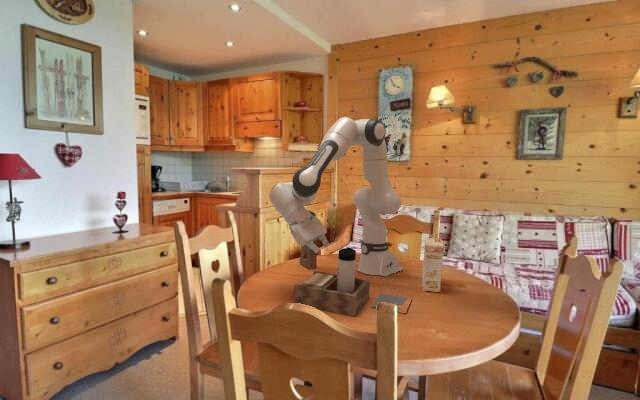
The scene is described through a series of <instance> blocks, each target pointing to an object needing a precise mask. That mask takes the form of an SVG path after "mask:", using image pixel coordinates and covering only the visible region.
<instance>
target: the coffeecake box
mask: <svg viewBox="0 0 640 400" xmlns="http://www.w3.org/2000/svg"><path fill="white" fill-rule="evenodd" d="M424 241H425V242H424V250H423V251H424V253H423V264H422V265H423V266H422V278H421V279H422V282H421V283H422V286H423V289H424V290H434V291H440V292H441V283H442V282H441V281H442V271H443V259H444V248H445V247H444V243H443V240H442V238H436V237H425V239H424ZM423 289H422V290H423Z"/></svg>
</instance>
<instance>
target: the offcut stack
mask: <svg viewBox="0 0 640 400" xmlns="http://www.w3.org/2000/svg"><path fill="white" fill-rule="evenodd" d="M332 280H333V275H327V274H321V273H316V274H314V275H313V274H312V275H311V276H310V277H309V278H308V279H307V280H305V281H304V282H303V283H302V284H303V285H305V286H310V287H316V288H321V289H323V288H324V287H325V286H326V285H327V284H328V283H330V282H331V281H332Z"/></svg>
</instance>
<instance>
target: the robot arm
mask: <svg viewBox="0 0 640 400" xmlns="http://www.w3.org/2000/svg"><path fill="white" fill-rule="evenodd" d="M386 130H387V129H386V127H385V124H384V122H383V121H382V120H380V119H378V118H360V119H355V120H354V119H352V118H350V117H349V116H341V117H340V118H338V119H337V120H336V121H335V123H334V124H332V125H331V127H330V128H329V129H328V131H327V132H326V133H325V135H324V136H323V138H322V140H321V142H320V145H319V148H318V150H317V152H316V153H315V154H314V156H312V158H311V160H310V161H309V162H308V163H307V164H306V165H304V166H303V167H301V168H300V169H299V170H297V171H296V172H295V173H294V175H293V177H292V181H289V182H281V181H280V182H278V183H276V184H275V185H274V186H273V187H272V189H271V190H270V192H269V196H268V197H269V201H270V202H271V204H272V206H273V207H274V208H275V209H276V211H277V212H278V214H280V215H281V216H282V217H283V218H284V221H285V222H286V224H287V225H288V229H289V230H290V234H291V236H292V238H293V239H294V240H295V241H296V243H297V245H298V246H300V247H302V246H304V245H307V246H308V247H309V248H310V249H312V250H313V251H314V252H315V253H317V254H318V253H319V252H320V251H321V249H320V247H319V246H318V245H317V246H316V245H315V244H313V241H314V240H320V242H322V246H323V247H324V248H328V247H329V246H330V242H329V241H328V240H327V237H326V234H327V233H328V231H327V228H326V227H325V226H324V224H323V223H322V222H321V220H320V219H319V218H318V217H317V213H315V211H311V210H308V209H307V208H306V207H305V206H307V205H309V204H311V203H312V202H314V201H315V199H316V198H317V195H318V191H319V189H320V186H321V183H322V175H323V174H324V172H325V171H326V169H327V167H328V166H329V165H330V163H331V162H332V161H340V159H341V158H342V157H344V156H345V154H346V153H347V152H348V150H349V149H350V147H351V146H362V149H363V150H362V168H363V169H362V171H363V177H364V179H365V180H366V181H367V183H369V185H370V187H363V188H359V189H357V190H356V191H355V192H354V194H353V198H352V199H353V204H354V206H355V207H356V208H357V210H358V212H359V214H360V215H359V216H360V217H361V222H362V237H361V238H362V240H361V243H360V249H361V250H360V251H361V253H360V257H359V258H360V259H359V262H358V265H357V271H358V272H359V273H361V274H365V275H372V276H381V277H388V276H391V275H393V273H394V274H396V272H397V273H399V272H398V271H400V272H402V271H401V270H403V271H404V267H402V266H401V265H399V259H398V256H397V255H396V254H394V253H393V252H392V251H391V250H390V249H389V248H392V247H393V243H392V242H390V241H389V242H387V229H388V228H387V224H386V222H385V221H383V219H382V217H381V214H382V215H393V214H396V213H397V212H399V210H400V209H401V205H402V200H401V199H402V198H401V197H400V195H399V193H397V192H396V190H395V189H394V187H393V185H392V184H391V180H390V176H389V170H388V169H389V168H388V167H389V166H388V150H387V142H386V139H385V137H386ZM390 274H391V275H390Z"/></svg>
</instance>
